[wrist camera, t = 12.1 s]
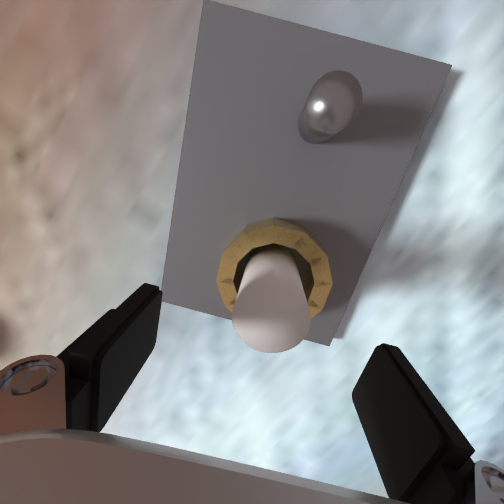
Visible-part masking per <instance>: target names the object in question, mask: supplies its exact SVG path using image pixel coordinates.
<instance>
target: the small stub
mask: <svg viewBox="0 0 504 504" xmlns="http://www.w3.org/2000/svg"><path fill="white" fill-rule="evenodd" d="M362 101H363V93H362V88H361V85H360V83H359V81H358V80H357V79H356V78H355V77H354V76H353V75H352V74H351V73H349V72H346V71H342V70H335V71H331V72H328V73H326V74H324V75H323V76H322V77H320V78H319V79H318V80H317V81H316V83H315V84H314V85H313V87H312V89H311V91H310V93H309V96H308V98H307V100H306V102H305V105H304V107H303V109H302V111H301V114H300V116H299V119H298V131H299V134H300V136H301V137H302V138H303V139H304V140H305V141H306V142H308V143H311V144H319V143H322V142H324V141H326V140H328V139H329V138H331V137H332V136H334V135H335V134H337V133H338V132H339V131H341V130H342V129H344V128H345V127H347V126H348V125H350V124H351V123H352V122H353V121H354V120H355V118H356V117H357V115H358V114H359V112H360V109H361V106H362Z"/></svg>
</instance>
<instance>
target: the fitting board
mask: <svg viewBox="0 0 504 504" xmlns="http://www.w3.org/2000/svg"><path fill="white" fill-rule="evenodd" d="M451 67H452V65H450V64H446V63H443V62H439V61H435V60H431V59H428V58H424V57H420V56H416V55H413V54H409V53H405V52H401V51H398V50H394V49H390V48H386V47H383V46H379V45H375V44H371V43H368V42H364V41H360V40H356V39H353V38H349V37H345V36H341V35H338V34H334V33H330V32H326V31H323V30H319V29H315V28H311V27H308V26H304V25H300V24H296V23H293V22H289V21H285V20H281V19H278V18H274V17H270V16H266V15H263V14H259V13H255V12H251V11H248V10H244V9H240V8H236V7H233V6H229V5H225V4H221V3H218V2H214V1H210V0H203V6H202V13H201V20H200V27H199V34H198V41H197V47H196V54H195V61H194V68H193V75H192V82H191V89H190V95H189V102H188V109H187V116H186V123H185V130H184V137H183V144H182V150H181V157H180V164H179V171H178V178H177V185H176V192H175V198H174V205H173V212H172V219H171V226H170V233H169V240H168V246H167V253H166V260H165V267H164V274H163V281H162V288H161V291H162V292H163V295H162V302H166V303H170V304H174V305H177V306H181V307H185V308H189V309H192V310H196V311H200V312H203V313H207V314H211V315H215V316H218V317H222V318H226V319H230V320H232V312H230V311H229V310H228V309H227V308H226V307H225V306H224V303H223V300H222V297H221V294H220V291H219V288H218V286H217V283H216V279H217V274H218V270H219V265H220V261H221V256H222V253H223V252H224V250H225V249H226V247H227V246H228V244H229V243H230V242H231V241H232V240H233V239H234V238H235V237H236V236H237V235H238V234H239V233H240V232H241V231H242V230H243V228H244V227H245V226H246V225H248V224H251V223H255V222H259V221H262V220H266V219H270V218H278V219H281V220H285V221H289V222H293V223H296V224H300V225H301V226H302V227H303V228H304V229H305V230H306V231H307V232H308V233H309V234H310V235H311V236H312V237H313V238H314V239H315V240H316V241H317V242H318V243H319V245H320V246H321V247H322V249H323V250H324V252H325V253H326V255H327V257H328V262H329V267H330V272H331V277H332V282H333V284H332V287H331V289H330V292H329V294H328V297H327V299H326V302H325V304H324V307H323V309H322V310H321V311H320V312H319V313H317V314H316V315H315V316H314V317H312V318H311V323H310V328H309V331H308V333H307V335H306V336H305V338H304V340H308V341H312V342H315V343H319V344H323V345H327V346H330V344H331V342H332V339H333V337H334V335H335V332H336V330H337V328H338V325H339V323H340V321H341V319H342V316H343V314H344V312H345V309H346V307H347V305H348V303H349V300H350V298H351V296H352V293H353V291H354V289H355V287H356V284H357V282H358V280H359V277H360V275H361V273H362V271H363V268H364V266H365V264H366V261H367V259H368V257H369V255H370V252H371V250H372V248H373V245H374V243H375V241H376V239H377V236H378V234H379V232H380V229H381V227H382V225H383V222H384V220H385V218H386V216H387V213H388V211H389V209H390V206H391V204H392V202H393V200H394V197H395V195H396V193H397V190H398V188H399V186H400V184H401V181H402V179H403V177H404V174H405V172H406V170H407V168H408V165H409V163H410V161H411V158H412V156H413V154H414V152H415V149H416V147H417V145H418V142H419V140H420V138H421V136H422V133H423V131H424V129H425V126H426V124H427V122H428V120H429V117H430V115H431V113H432V110H433V108H434V106H435V103H436V101H437V99H438V97H439V94H440V92H441V90H442V87H443V85H444V83H445V81H446V78H447V76H448V74H449V71H450V69H451ZM335 70H342V71H346V72H349V73H351V74H352V75H353V76H354V77H355V78H356V79H357V80H358V81H359V83H360V85H361V88H362V93H363V101H362V106H361V109H360V112H359V114H358V115H357V117H356V118H355V120H354V121H353V122H352V123H351V124H350V125H348V126H347V127H345V128H344V129H342V130H341V131H339V132H338V133H337V134H335V135H334V136H332V137H331V138H329V139H328V140H326V141H324V142H322V143H319V144H311V143H308V142H306V141H305V140H304V139H303V138H302V137H301V136H300V134H299V131H298V119H299V116H300V114H301V111H302V109H303V107H304V105H305V102H306V100H307V98H308V96H309V93H310V91H311V89H312V87H313V85H314V84H315V83H316V81H317V80H318V79H319V78H320V77H322V76H323V75H324V74H326V73H328V72H331V71H335ZM285 247H286V248H288V249H289V250H290V251H291V253H292V254H293V256H294V258H295V261H296V265H297V268H298V272H299V275H300V279H301V282H302V284H303V282H304V279H305V276H306V273H307V271H308V263H307V260H306V259H305V258H304V257H303V256H302V255H301V254H300V253H299V252H298V251H297V250H296V249H294V248H290V247H287V246H285ZM256 248H257V247H256ZM254 249H255V248H252V249H251V250H250V251H249V252H248V253H247V254H246V255H245V256H244V257H243V258H242V259H241V260H240V263H239V270H240V273H241V276H242V278H243V275H244V272H245V269H246V265H247V262H248V259H249V256H250V254H251V253H252V252H253V250H254Z"/></svg>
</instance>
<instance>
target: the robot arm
mask: <svg viewBox="0 0 504 504" xmlns="http://www.w3.org/2000/svg"><path fill="white" fill-rule="evenodd" d="M162 295H163V292H162V291H161V290H159V287H158V286H155V285H151V284H147V283H144V284H143V285H142V286H140V287H139V288H138V289H137V290H136V291H135V292H134V293H133V294H132V295H131V296H129V297H128V298H127V299H126V300H125V301H124V302H123V303H122V304H121V305H120V306H119V307H117V308H116V309H111V310H109V311H108V312H107V313H105V314H104V315H103V316H102V317H101V318H100V319H99V320H97V321H96V322H95V323H94V324H93V325H92V326H91V327H90V328H88V329H87V330H86V331H85V332H84V333H83V334H82V335H80V336H79V337H78V338H77V339H76V340H75V341H74V342H73V343H71V344H70V345H69V346H68V347H67V348H66V349H65V350H63V351H62V352H61V353H60V354H59V355H58V356H57V357H55V356H52V355H36V356H30V357H27V358H23V359H20V360H18V361H16V362H14V363H12V364H10V365H8V366H7V367H5V368H4V369H2V370H1V371H0V504H504V470H502V469H501V468H499V467H498V466H496V465H494V464H492V463H490V462H487V461H482V460H480V461H477V462H476V463H474V462H473V461H472V459H471V458H470V456H471V455H472V454H473V453H474V452H475V450H474V448H473V447H472V446H471V444H470V443H469V442H468V440H467V439H466V437H465V436H464V435H463V433H462V432H461V431H460V429H459V428H458V427H457V425H456V424H455V423H454V421H453V420H452V419H451V417H450V416H449V415H448V413H447V412H446V411H445V409H444V408H443V407H442V405H441V404H440V403H439V401H438V400H437V399H436V397H435V396H434V394H433V393H432V392H431V390H430V389H429V388H428V386H427V385H426V384H425V382H424V381H423V380H422V378H421V377H420V376H419V374H418V373H417V372H416V370H415V369H414V368H413V366H412V365H411V364H410V362H409V361H408V360H407V358H406V357H405V356H404V354H403V353H402V351H401V350H400V349H399V348H398V347H396V346H392V345H388V344H384V343H383V344H381V345H380V346H377V347H376V348H375V349H374V351H373V353H372V355H371V357H370V359H369V361H368V363H367V365H366V366H365V368H364V370H363V372H362V374H361V376H360V378H359V380H358V382H357V384H356V385H355V387H354V389H353V392H352V400H353V403H354V405H355V408H356V411H357V414H358V416H359V419H360V422H361V424H362V427H363V430H364V432H365V435H366V438H367V440H368V443H369V446H370V448H371V451H372V454H373V456H374V459H375V462H376V464H377V467H378V470H379V473H380V475H381V478H382V481H383V483H384V486H385V489H386V491H387V494H388V496H389V498H390V499H389V498H385V497H381V496H377V495H373V494H369V493H365V492H361V491H356V490H352V489H348V488H344V487H340V486H336V485H332V484H327V483H323V482H319V481H315V480H311V479H306V478H302V477H298V476H294V475H289V474H285V473H281V472H277V471H273V470H268V469H264V468H260V467H256V466H251V465H247V464H243V463H238V462H234V461H230V460H225V459H221V458H217V457H212V456H208V455H204V454H199V453H195V452H191V451H186V450H182V449H178V448H173V447H169V446H164V445H160V444H155V443H150V442H145V441H141V440H136V439H131V438H126V437H121V436H117V435H112V434H106V433H99V432H100V431H101V430H102V429H103V427H104V426H105V424H106V423H107V421H108V420H109V418H110V417H111V415H112V413H113V412H114V410H115V409H116V407H117V406H118V404H119V402H120V401H121V399H122V398H123V396H124V395H125V393H126V391H127V390H128V388H129V387H130V385H131V384H132V382H133V381H134V379H135V377H136V376H137V374H138V373H139V371H140V370H141V368H142V366H143V365H144V363H145V362H146V360H147V359H148V357H149V355H150V354H151V352H152V351H153V349H154V346H155V343H156V337H157V330H158V323H159V316H160V309H161V302H162Z"/></svg>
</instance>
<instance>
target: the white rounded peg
mask: <svg viewBox="0 0 504 504" xmlns="http://www.w3.org/2000/svg"><path fill="white" fill-rule="evenodd" d="M232 323H233V327H234V330H235V332H236V334H237V335H238V337H239V338H240V339H241V340H242V341H243V342H244V343H245V344H247V345H248V346H249V347H251V348H253V349H256V350H258V351H261V352H267V353H278V352H283V351H287V350H289V349H292V348H293V347H295V346H297V345H298V344H299V343H300V342H301V341H302V340H303V339H304V338H305V336H306V335H307V333H308V331H309V328H310V323H311V315H310V310H309V307H308V303H307V300H306V296H305V293H304V289H303V286H302V282H301V279H300V275H299V272H298V268H297V265H296V261H295V258H294V256H293V254H292V253H291V251H290V250H289V249H288V248H286V247H285V246H283V245H279V244H275V243H272V244H268V245H264V246H260V247H257V248H255V249H254V250H253V252H252V253H251V254H250V256H249V259H248V262H247V265H246V269H245V272H244V275H243V278H242V282H241V285H240V288H239V291H238V295H237V298H236V301H235V304H234V308H233V311H232Z"/></svg>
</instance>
